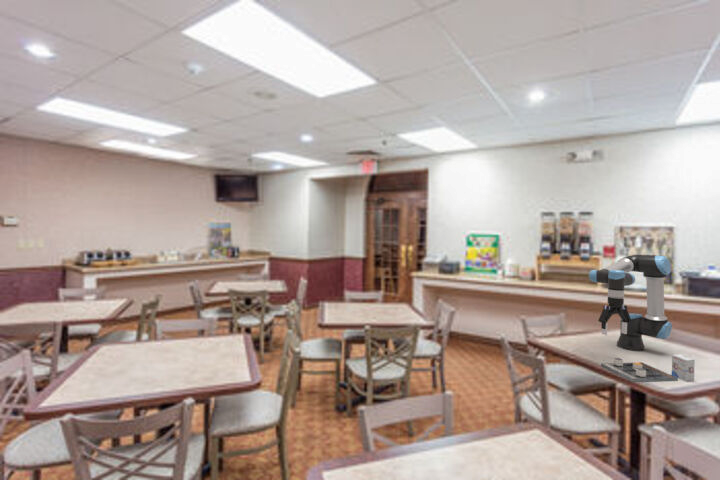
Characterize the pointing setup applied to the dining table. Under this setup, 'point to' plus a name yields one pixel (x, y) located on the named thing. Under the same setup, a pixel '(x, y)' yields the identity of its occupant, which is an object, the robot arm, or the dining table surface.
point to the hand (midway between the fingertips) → (614, 334)
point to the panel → (630, 374)
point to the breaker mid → (637, 365)
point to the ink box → (683, 367)
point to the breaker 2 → (641, 372)
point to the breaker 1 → (618, 362)
